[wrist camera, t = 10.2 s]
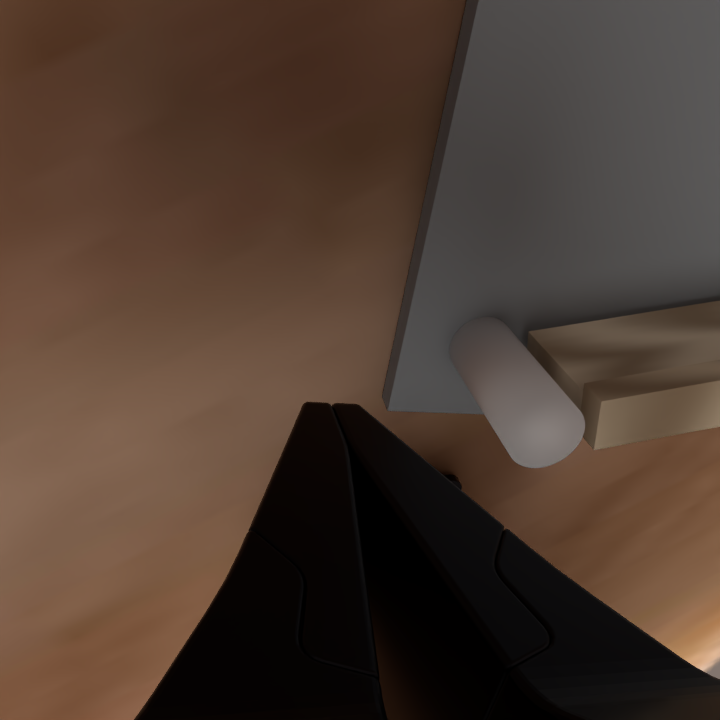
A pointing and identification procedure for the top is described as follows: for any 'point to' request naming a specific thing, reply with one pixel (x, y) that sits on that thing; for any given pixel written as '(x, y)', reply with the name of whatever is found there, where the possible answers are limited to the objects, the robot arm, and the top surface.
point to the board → (558, 202)
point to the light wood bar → (638, 372)
